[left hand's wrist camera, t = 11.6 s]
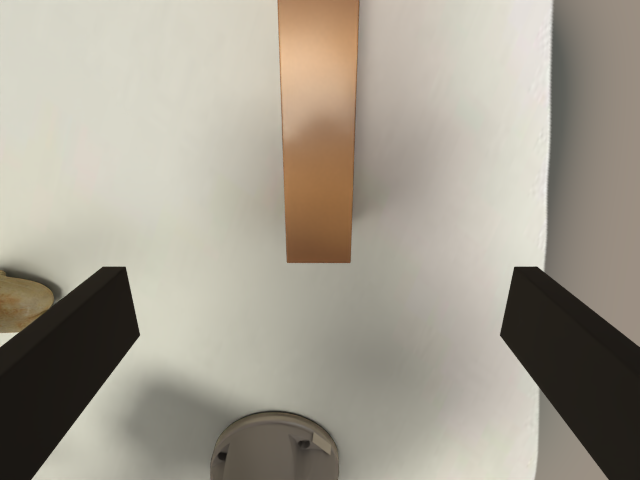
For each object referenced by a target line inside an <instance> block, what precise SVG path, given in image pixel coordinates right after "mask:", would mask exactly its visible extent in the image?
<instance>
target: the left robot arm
mask: <svg viewBox="0 0 640 480" xmlns="http://www.w3.org/2000/svg"><path fill="white" fill-rule="evenodd" d="M139 336H140V333H139V328H138V323H137V318H136V314H135V309H134V304H133V299H132V295H131V290H130V285H129V280H128V276H127V271H126V267H102V268H101V269H99V270H98V271H97V272H96V273H94V274H93V275H92V276H90V277H89V278H88V279H87V280H85V281H84V282H83V283H82V284H80V285H79V286H78V287H76V288H75V289H74V290H73V291H71V292H70V293H69V294H68V295H66V296H65V297H64V298H62V299H61V300H60V301H59V302H57V303H56V304H55V305H54V306H52V307H51V308H50V309H48V310H47V311H46V312H45V313H43V314H42V315H41V316H40V317H38V318H37V319H36V320H34V321H33V322H32V323H31V324H29V325H28V326H27V327H26V328H24V329H23V330H22V331H20V332H19V333H18V334H17V335H15V336H14V337H13V338H12V339H10V340H9V341H8V342H6V343H5V344H4V345H3V346H1V347H0V480H31V479H32V478H33V477H34V475H35V474H36V473H37V471H38V470H39V469H40V467H41V466H42V465H43V463H44V462H45V461H46V459H47V458H48V457H49V455H50V454H51V453H52V451H53V450H54V449H55V447H56V446H57V445H58V443H59V442H60V441H61V439H62V438H63V437H64V435H65V434H66V433H67V431H68V430H69V429H70V428H71V426H72V425H73V424H74V422H75V421H76V420H77V418H78V417H79V416H80V414H81V413H82V412H83V410H84V409H85V408H86V406H87V405H88V404H89V402H90V401H91V400H92V398H93V397H94V396H95V394H96V393H97V392H98V390H99V389H100V388H101V386H102V385H103V384H104V382H105V381H106V380H107V378H108V377H109V376H110V374H111V373H112V372H113V370H114V369H115V368H116V366H117V365H118V364H119V362H120V361H121V360H122V358H123V357H124V356H125V355H126V353H127V352H128V351H129V349H130V348H131V347H132V345H133V344H134V343H135V341H136V340H137V339H138V337H139ZM500 336H501V337H502V339H503V340H504V341H505V343H506V344H507V345H508V347H509V348H510V349H511V351H512V352H513V353H514V355H515V356H516V357H517V358H518V360H519V361H520V362H521V364H522V365H523V366H524V368H525V369H526V370H527V372H528V373H529V374H530V376H531V377H532V378H533V380H534V381H535V382H536V384H537V385H538V386H539V388H540V389H541V390H542V392H543V393H544V394H545V396H546V397H547V398H548V400H549V401H550V402H551V404H552V405H553V406H554V408H555V409H556V410H557V412H558V413H559V414H560V416H561V417H562V418H563V420H564V421H565V422H566V423H567V425H568V426H569V427H570V429H571V430H572V431H573V433H574V434H575V435H576V437H577V438H578V439H579V441H580V442H581V443H582V445H583V446H584V447H585V449H586V450H587V451H588V453H589V454H590V455H591V457H592V458H593V459H594V461H595V462H596V463H597V465H598V466H599V467H600V469H601V470H602V471H603V473H604V474H605V475H606V477H607V478H608V479H609V480H640V347H639V346H637V345H636V344H635V343H634V342H632V341H631V340H630V339H628V338H627V337H626V336H625V335H623V334H622V333H621V332H620V331H618V330H617V329H616V328H614V327H613V326H612V325H611V324H609V323H608V322H607V321H606V320H604V319H603V318H602V317H600V316H599V315H598V314H597V313H595V312H594V311H593V310H592V309H590V308H589V307H588V306H586V305H585V304H584V303H583V302H581V301H580V300H579V299H578V298H576V297H575V296H574V295H572V294H571V293H570V292H569V291H567V290H566V289H565V288H564V287H562V286H561V285H560V284H558V283H557V282H556V281H555V280H553V279H552V278H551V277H549V276H548V275H547V274H546V273H544V272H543V271H542V270H541V269H539V268H538V267H514V271H513V276H512V280H511V285H510V290H509V295H508V299H507V304H506V309H505V314H504V318H503V323H502V328H501V333H500ZM210 474H211V480H338V476H339V461H338V451H337V448H336V445H335V443H334V441H333V440H332V438H331V437H330V435H329V434H328V433H327V432H326V431H325V430H324V429H323V428H321V427H320V426H319V425H317V424H316V423H314V422H312V421H310V420H308V419H306V418H303V417H301V416H297V415H294V414H289V413H281V412H265V413H258V414H253V415H250V416H247V417H244V418H242V419H240V420H238V421H236V422H234V423H233V424H231V425H230V426H229V427H227V428H226V429H225V430H224V431H223V433H222V434H221V435H220V437H219V438H218V440H217V442H216V445H215V449H214V452H213V455H212V459H211V467H210Z"/></svg>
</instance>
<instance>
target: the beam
mask: <svg viewBox="0 0 640 480" xmlns="http://www.w3.org/2000/svg"><path fill="white" fill-rule="evenodd" d="M358 24H359V0H278V25H279V53H280V82H281V110H282V139H283V167H284V195H285V224H286V252H287V263H350V262H351V233H352V203H353V173H354V143H355V114H356V84H357V54H358Z"/></svg>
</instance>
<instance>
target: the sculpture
mask: <svg viewBox="0 0 640 480" xmlns="http://www.w3.org/2000/svg"><path fill="white" fill-rule="evenodd" d="M53 301H54V297H53V294H52V292H51V290H50V289H49V288H47V287H46V286H44V285H42V284H40V283H37V282H34V281H30V280H25V279H19V278H12V277H6V273H5V272H4V271H2V270H0V333H13V332H20V331H22V330H23V329H24V328H26V327H27V326H28V325H29V324H31V323H32V322H33V321H34V320H36V319H37V318H38V317H40V316H41V315H42V314H43V313H45V312H46V311H47V310H48V309H49V308H50V307H51V305H52V303H53Z"/></svg>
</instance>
